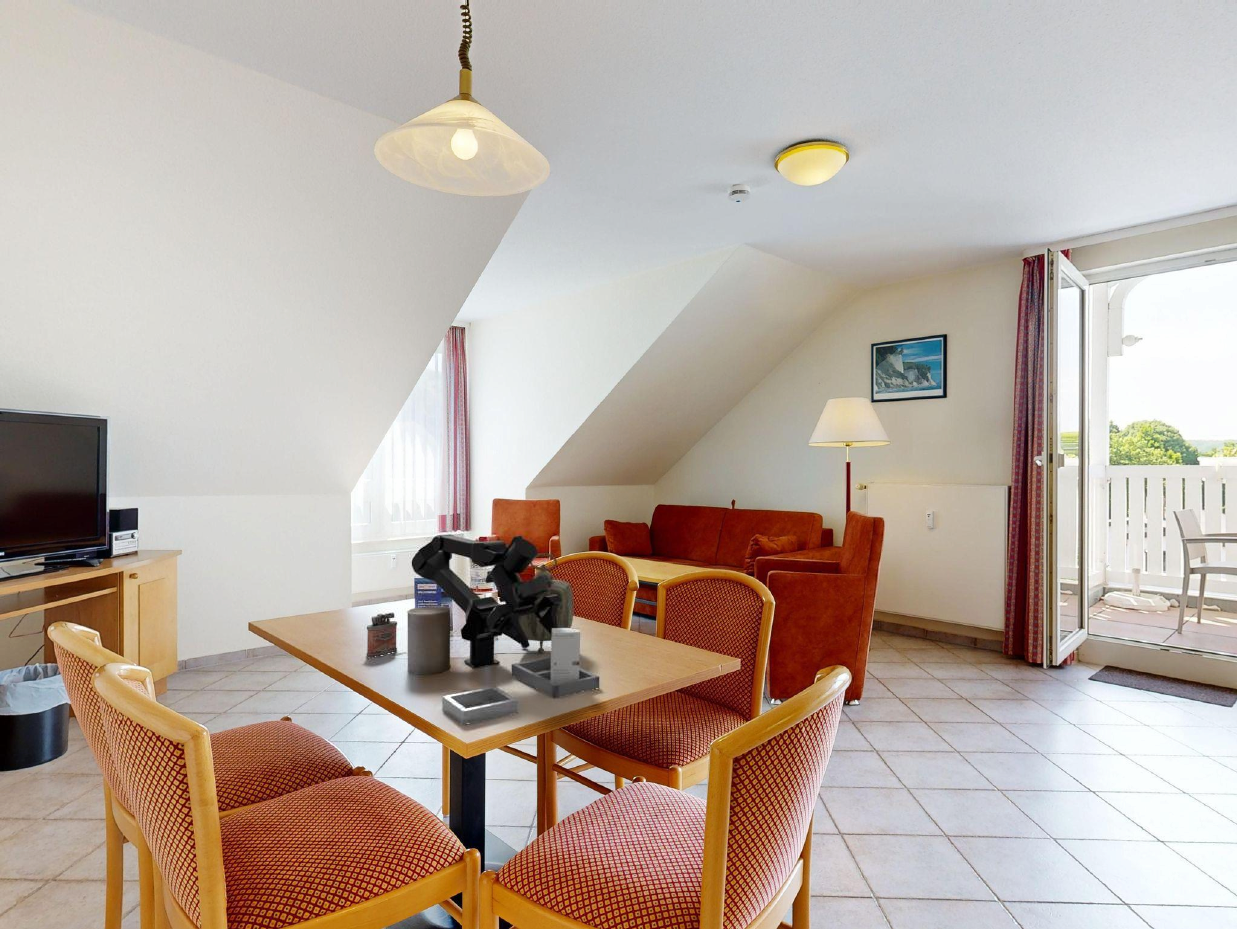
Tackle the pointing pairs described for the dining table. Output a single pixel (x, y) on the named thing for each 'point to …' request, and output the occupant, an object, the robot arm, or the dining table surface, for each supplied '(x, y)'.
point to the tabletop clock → (563, 614)
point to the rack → (550, 688)
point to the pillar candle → (428, 639)
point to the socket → (480, 713)
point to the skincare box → (565, 654)
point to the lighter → (381, 635)
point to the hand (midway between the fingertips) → (543, 642)
